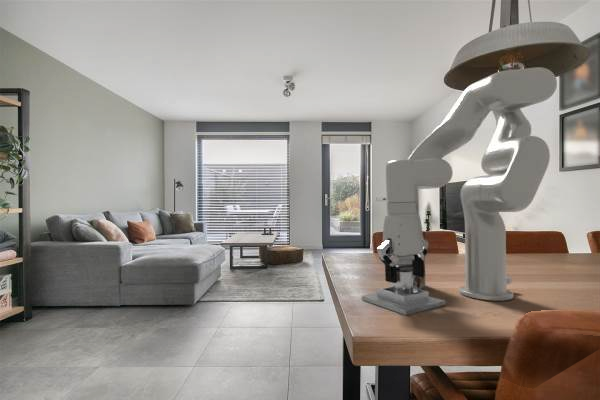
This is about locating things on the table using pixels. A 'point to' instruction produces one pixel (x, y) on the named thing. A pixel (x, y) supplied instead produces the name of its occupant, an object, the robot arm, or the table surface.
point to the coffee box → (417, 281)
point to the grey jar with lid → (403, 280)
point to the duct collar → (404, 300)
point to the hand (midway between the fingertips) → (405, 278)
